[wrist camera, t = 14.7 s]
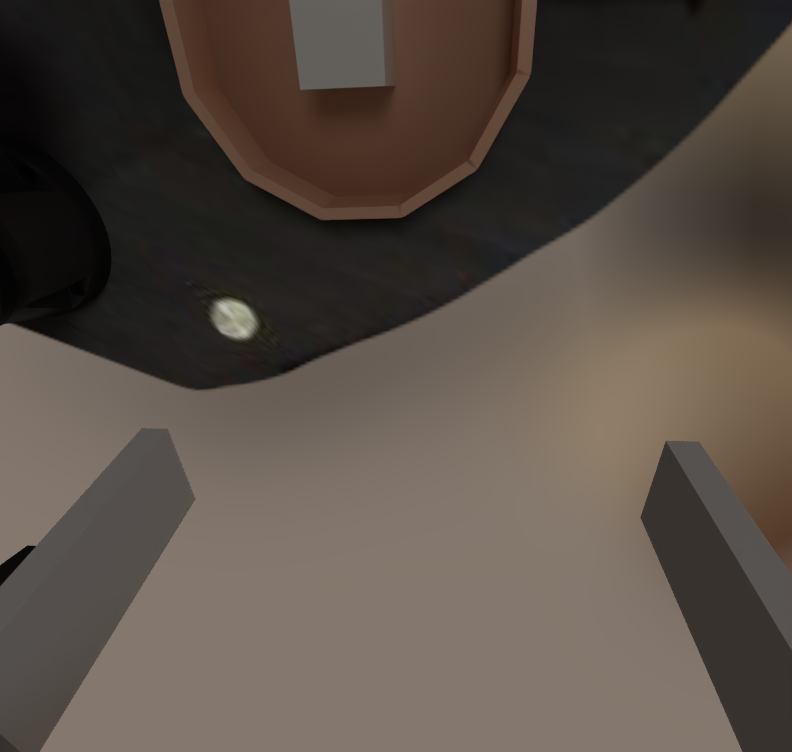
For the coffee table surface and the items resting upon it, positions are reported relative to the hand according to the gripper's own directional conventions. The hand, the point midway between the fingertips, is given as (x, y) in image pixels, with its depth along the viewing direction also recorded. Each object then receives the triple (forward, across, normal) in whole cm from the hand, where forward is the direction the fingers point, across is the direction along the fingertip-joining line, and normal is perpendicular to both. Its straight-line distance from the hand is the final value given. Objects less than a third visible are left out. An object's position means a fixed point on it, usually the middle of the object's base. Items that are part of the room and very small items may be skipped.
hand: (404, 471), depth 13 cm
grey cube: (+28, -5, +12) cm, 31 cm away
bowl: (+29, -5, +12) cm, 32 cm away
